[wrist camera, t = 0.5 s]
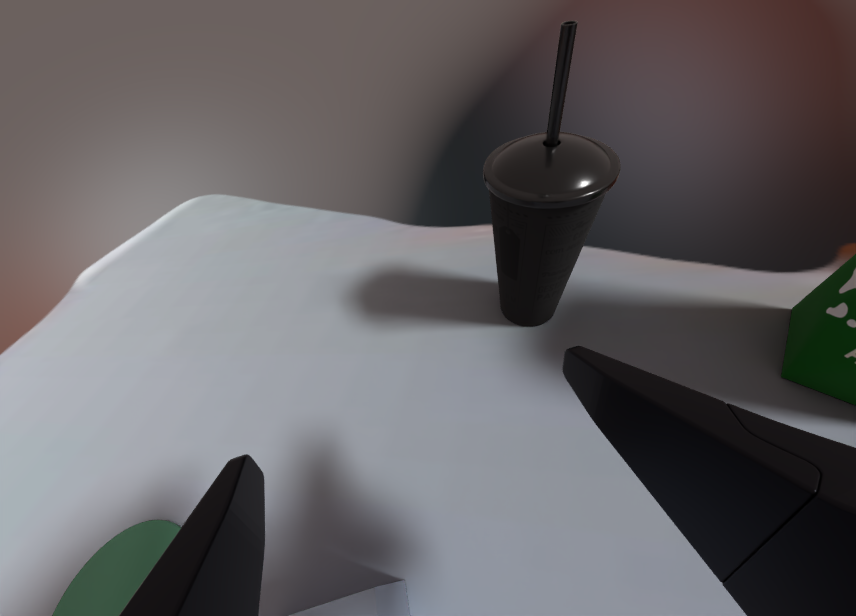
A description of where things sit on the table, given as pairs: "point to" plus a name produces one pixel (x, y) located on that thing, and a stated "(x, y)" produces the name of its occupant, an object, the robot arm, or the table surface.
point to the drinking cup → (545, 203)
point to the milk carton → (825, 337)
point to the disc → (117, 570)
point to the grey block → (366, 603)
